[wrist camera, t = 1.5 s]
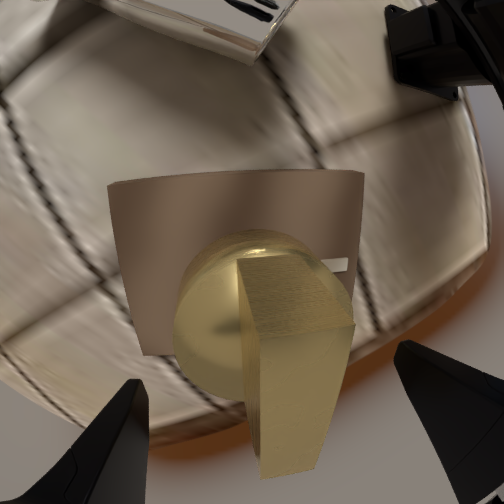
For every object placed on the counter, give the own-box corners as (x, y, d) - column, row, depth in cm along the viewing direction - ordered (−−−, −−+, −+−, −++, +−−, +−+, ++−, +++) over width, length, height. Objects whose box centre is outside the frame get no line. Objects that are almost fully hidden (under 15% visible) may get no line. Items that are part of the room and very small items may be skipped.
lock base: (352, 170, 16) (394, 180, 12) (337, 321, 20) (364, 359, 16) (115, 181, 14) (85, 196, 10) (146, 342, 18) (136, 388, 14)
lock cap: (167, 235, 11) (129, 348, 5) (331, 224, 12) (439, 303, 6) (192, 379, 14) (197, 494, 8) (316, 364, 15) (364, 462, 9)
